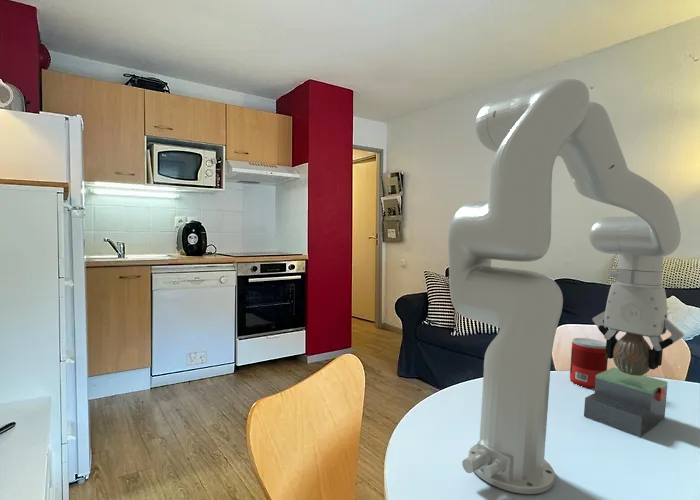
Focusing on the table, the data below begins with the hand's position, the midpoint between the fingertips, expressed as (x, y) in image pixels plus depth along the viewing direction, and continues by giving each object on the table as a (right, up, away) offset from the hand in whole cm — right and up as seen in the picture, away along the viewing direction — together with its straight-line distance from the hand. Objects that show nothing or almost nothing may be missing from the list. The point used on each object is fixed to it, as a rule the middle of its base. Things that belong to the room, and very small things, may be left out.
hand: (632, 362), depth 84 cm
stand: (-2, -12, -1) cm, 12 cm away
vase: (0, -2, 0) cm, 2 cm away
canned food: (+1, -11, +18) cm, 21 cm away
